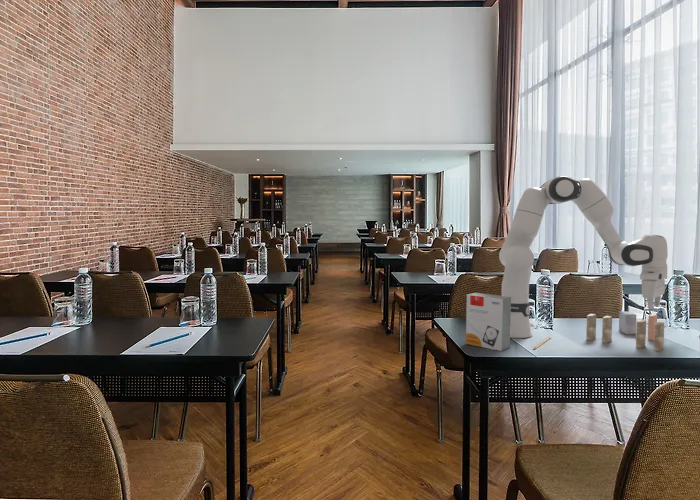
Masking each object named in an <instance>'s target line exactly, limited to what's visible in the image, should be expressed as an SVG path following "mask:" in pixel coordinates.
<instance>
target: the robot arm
mask: <svg viewBox="0 0 700 500" xmlns="http://www.w3.org/2000/svg"><path fill="white" fill-rule="evenodd" d="M569 201H571V202H572V203H574V204H575V205H576V207H577V208H578V209H579V211H580V212H581V214H583V216H584V217H585V218H586V219H587V221H589V223H591V225H592V226H593V227H594V228H595V230H596V232H597V233H598V235H599V236H600V237H601V240H602V241H603V242H604V244H605V246H606V247H607V251H608V256H609V259H610V260H611V261H612V263H614V264H615V265H618V266H628V267H636V266H641V273H640V274H639V279H640V280H641V295H642V298H643V299H646V302H647V309H648V310H653V309H655V307H659V306H660V305H661V299H662V295H665V292H666V284H665V283H666V281H665V280H666V279H668V264H667V259H668V250H669V249H668V243H667V239H666V238H665V236H662V235H659V234H652V233H651V234H650V233H647V234H644V235H642V237H639V238H638V239H636V240H633V241H630V242H627V241H625V240H624V239H623V238H622V237H621V236H620V234H619V232H618V231H617V229H616V228H615V227H614V225H613V222H612V216H613V214H614V207H613V205H612V203H611V201H610V199H609V198H608V197H607V195H606V194H605V192H603V190H602V189H601V188H600V187H599V186H598V185H597V184H596V183H595V182H594V181H593V180H591V178H581V179H579V180H577V179H574V178H572V177H570V176H565V175H560V176H556V177H552V178H550V179H549V180H547V181H546V182H544V183H543V184H542V185H540V187H534V186H532V187H528V188H526V189H525V190H524V192H523V193H522V195H521V197H520V199H519V202H518V203H517V206H516V209H515V212H514V213H515V214H514V216H513V219H512V222H511V225H510V227H509V231H508V232H507V235H506V237H505V239H504V242H503V243H502V246H501V248H500V251H499V253H498V255H499V256H498V258H499V261H500V263H501V265H503V267H504V272H503V277H502V282H501V296H507V297H511V321H510V339H511V338H512V339H513V338H514V339H516V338H517V339H525V338H532V337H533V333H532V329H531V324H530V312H531V307H530V301H529V300H530V299H529V298H530V297H529V296H530V295H529V294H530V280H531V277H532V276H531V274H532V270H533V265H534V262H535V255H534V253H533V251H532V250H531V249H530V248H531V246H532V243H533V241H535V238H536V237H537V235H538V233H539V230H540V227H541V224H542V221H543V218H544V213H545V211H546V209H547V207H548V205H556V204H563V203H566V202H569Z"/></svg>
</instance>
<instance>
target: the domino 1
mask: <svg viewBox="0 0 700 500" xmlns="http://www.w3.org/2000/svg"><path fill="white" fill-rule="evenodd" d="M585 338H586V340H587V341H593V340H595V339H596V338H597V314H595V313H589V314H588V315H586V337H585Z"/></svg>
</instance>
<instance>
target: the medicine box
mask: <svg viewBox="0 0 700 500" xmlns="http://www.w3.org/2000/svg"><path fill="white" fill-rule="evenodd" d="M618 314H619V315H618V331H620V332H622V333H623V334H626V335H636V327H637V314H635V313H633V312H631V311H627V310H626V311H618Z"/></svg>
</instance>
